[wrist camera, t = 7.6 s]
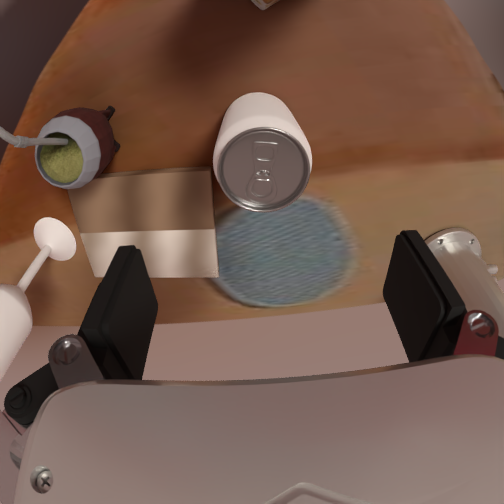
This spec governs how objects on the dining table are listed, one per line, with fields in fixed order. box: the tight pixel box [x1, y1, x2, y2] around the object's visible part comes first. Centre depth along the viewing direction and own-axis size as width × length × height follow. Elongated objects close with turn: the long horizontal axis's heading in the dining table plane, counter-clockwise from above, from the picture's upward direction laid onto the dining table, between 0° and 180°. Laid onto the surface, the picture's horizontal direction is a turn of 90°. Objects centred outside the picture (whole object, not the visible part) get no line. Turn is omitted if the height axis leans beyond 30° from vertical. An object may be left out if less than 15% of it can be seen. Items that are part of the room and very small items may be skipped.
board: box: [67, 166, 219, 278], centre depth 35 cm, size 16×13×1 cm
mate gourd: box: [0, 106, 120, 189], centre depth 22 cm, size 8×8×15 cm
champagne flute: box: [0, 218, 76, 382], centre depth 26 cm, size 7×7×24 cm
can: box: [213, 92, 312, 212], centre depth 24 cm, size 6×6×12 cm
